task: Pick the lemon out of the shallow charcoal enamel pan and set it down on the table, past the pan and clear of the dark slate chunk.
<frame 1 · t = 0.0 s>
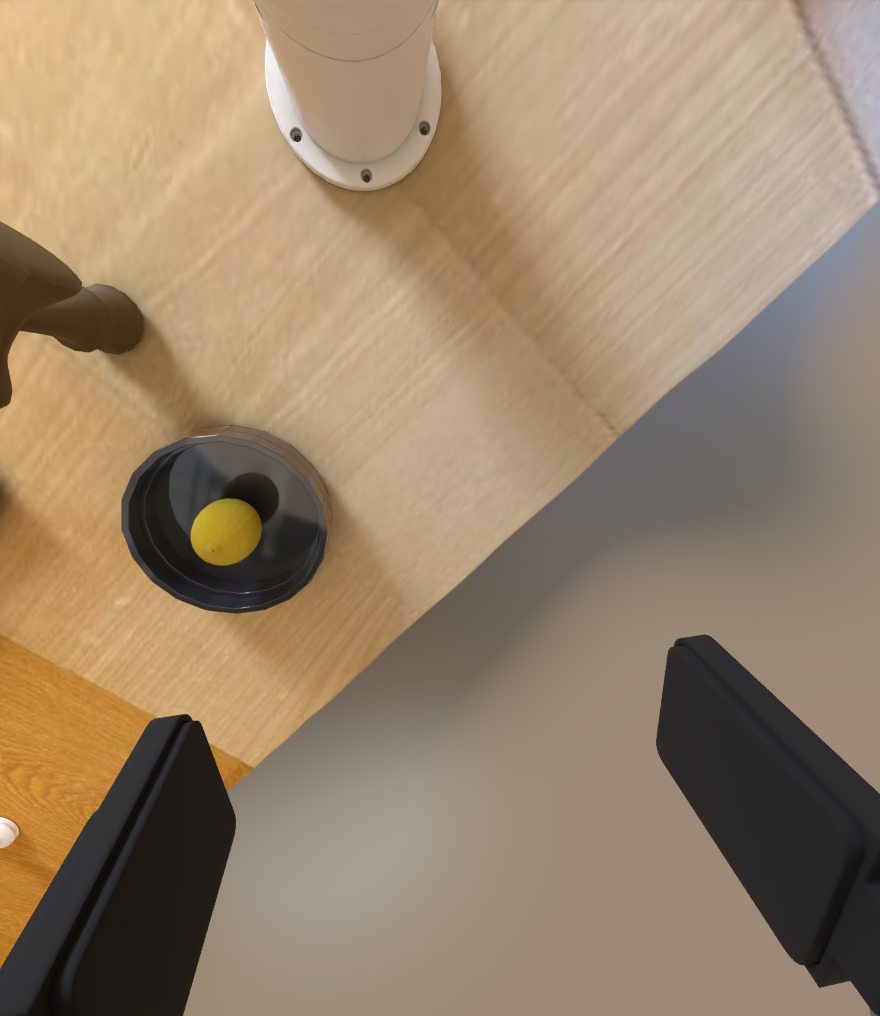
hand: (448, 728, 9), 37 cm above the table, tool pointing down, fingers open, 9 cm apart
pan: (241, 512, 45), on the table
kendama: (114, 320, 38), on the table
lemon: (241, 513, 45), resting on pan
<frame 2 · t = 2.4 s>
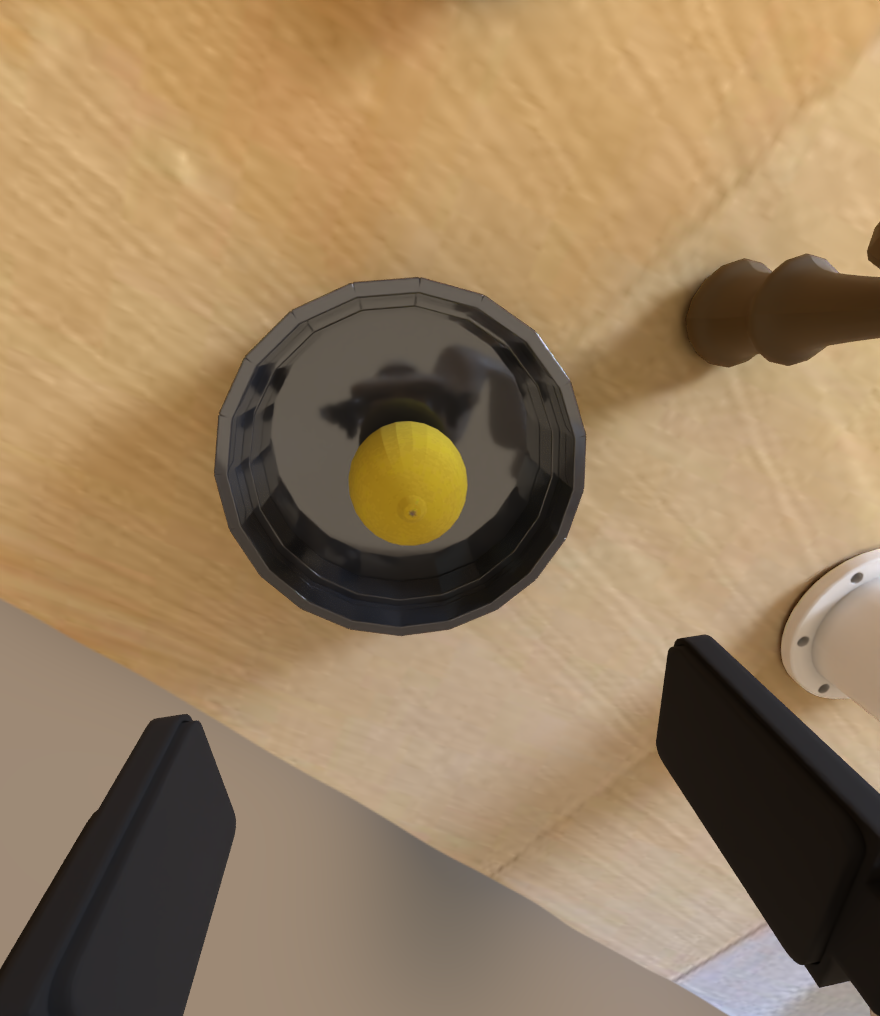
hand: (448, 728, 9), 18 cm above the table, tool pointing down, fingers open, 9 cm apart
pan: (405, 457, 26), on the table
kendama: (722, 315, 25), on the table
lemon: (405, 458, 25), resting on pan
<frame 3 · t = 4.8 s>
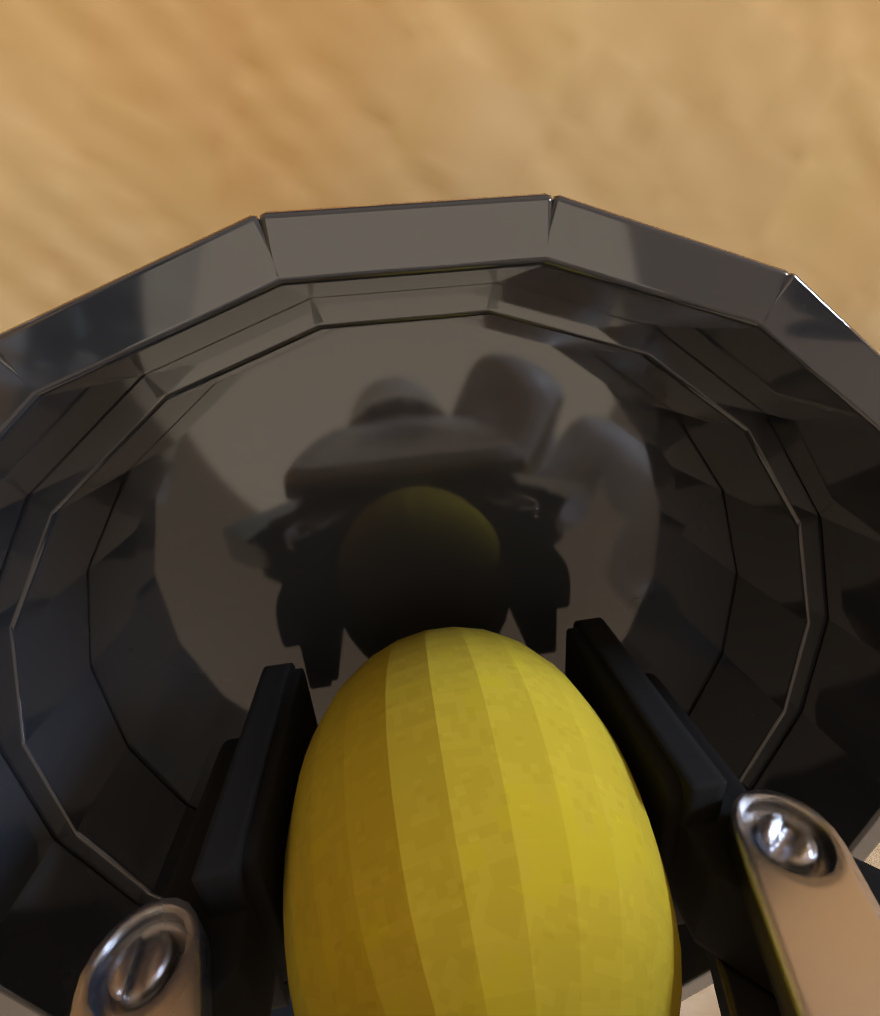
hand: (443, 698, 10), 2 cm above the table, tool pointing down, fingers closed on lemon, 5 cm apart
pan: (435, 647, 12), on the table
lemon: (436, 652, 11), resting on pan, touching gripper
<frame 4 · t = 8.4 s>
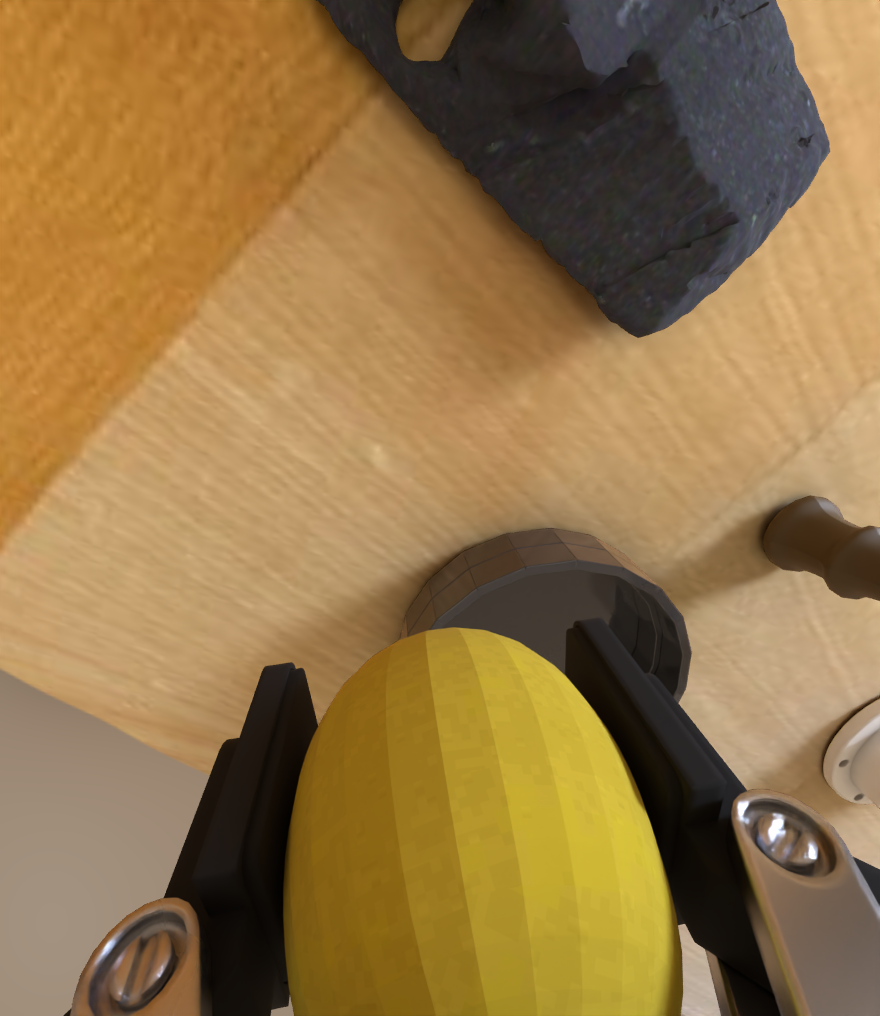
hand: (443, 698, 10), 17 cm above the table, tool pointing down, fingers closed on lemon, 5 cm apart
pan: (526, 643, 31), on the table
kendama: (790, 528, 30), on the table
dark slate chunk: (587, 70, 20), on the table
lemon: (436, 653, 11), point 15 cm above the table, touching gripper
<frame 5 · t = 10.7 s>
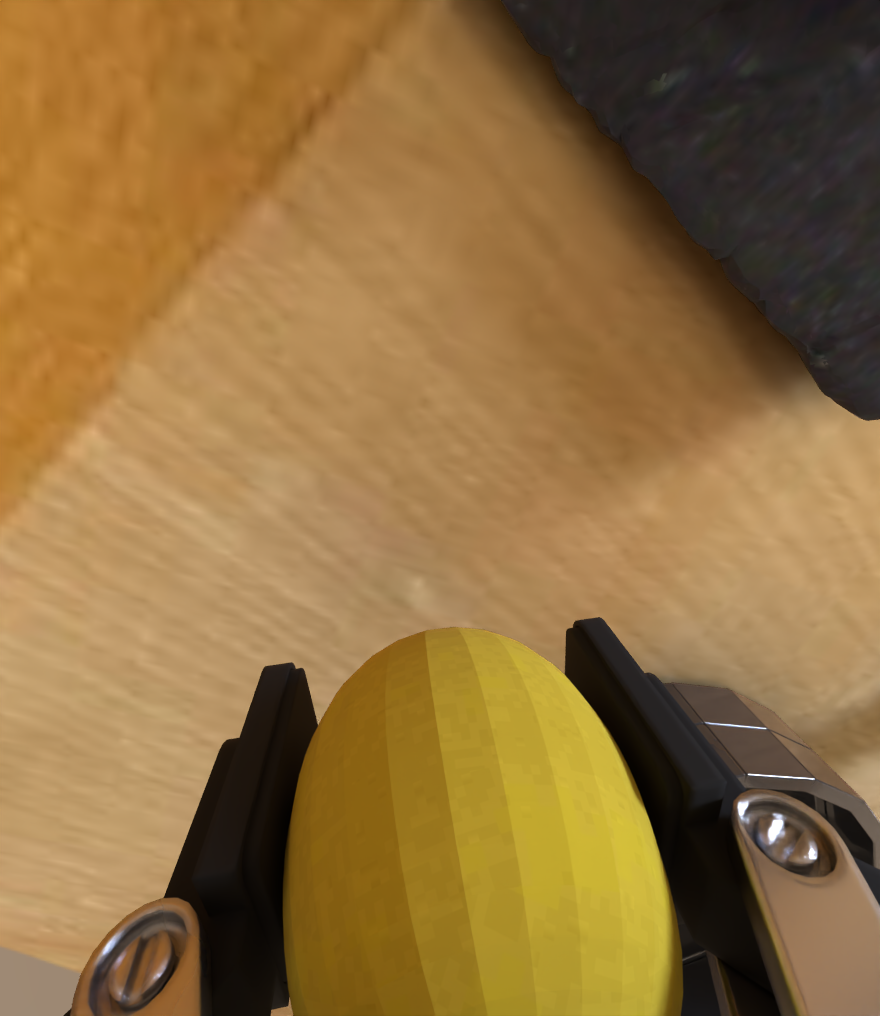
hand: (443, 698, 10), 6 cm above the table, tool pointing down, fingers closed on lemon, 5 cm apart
pan: (618, 821, 22), on the table
lemon: (436, 653, 11), point 4 cm above the table, touching gripper
when the fingers open (1 cm above the table, at t = 12.3 s): lemon stays where it is, on the table.
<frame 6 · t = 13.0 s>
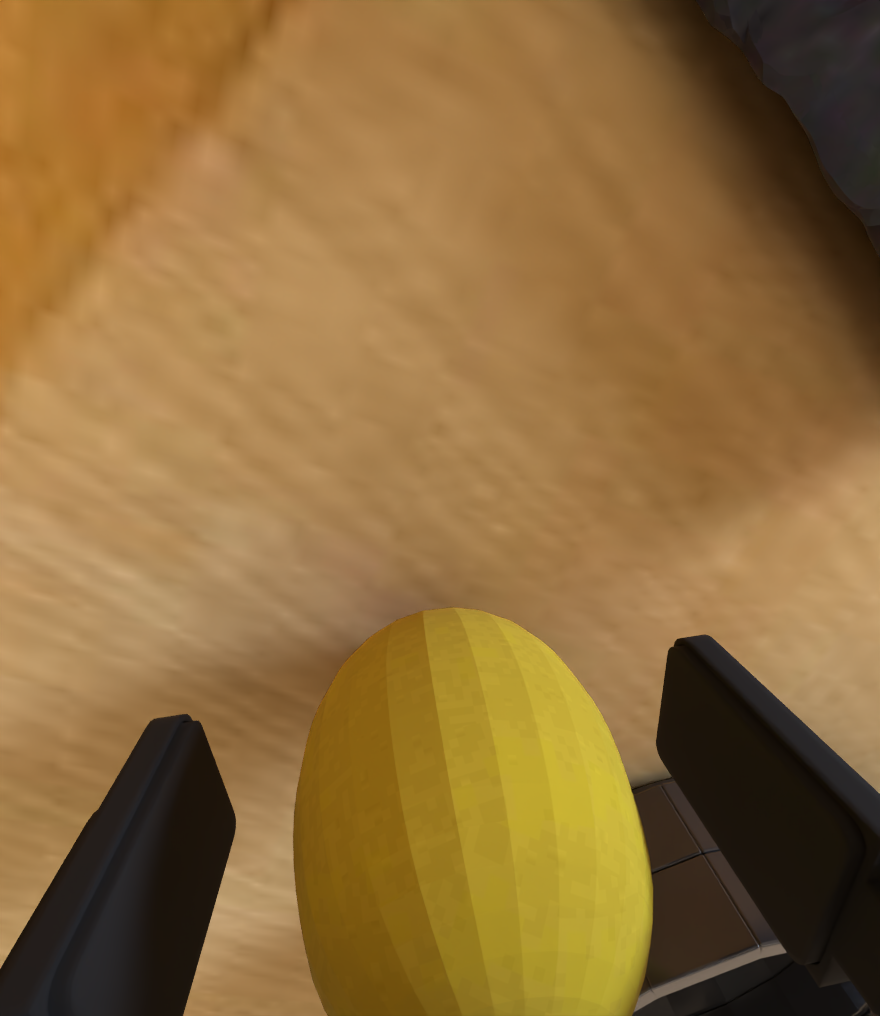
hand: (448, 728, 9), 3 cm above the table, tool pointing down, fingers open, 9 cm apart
pan: (664, 918, 18), on the table
lemon: (433, 636, 12), on the table
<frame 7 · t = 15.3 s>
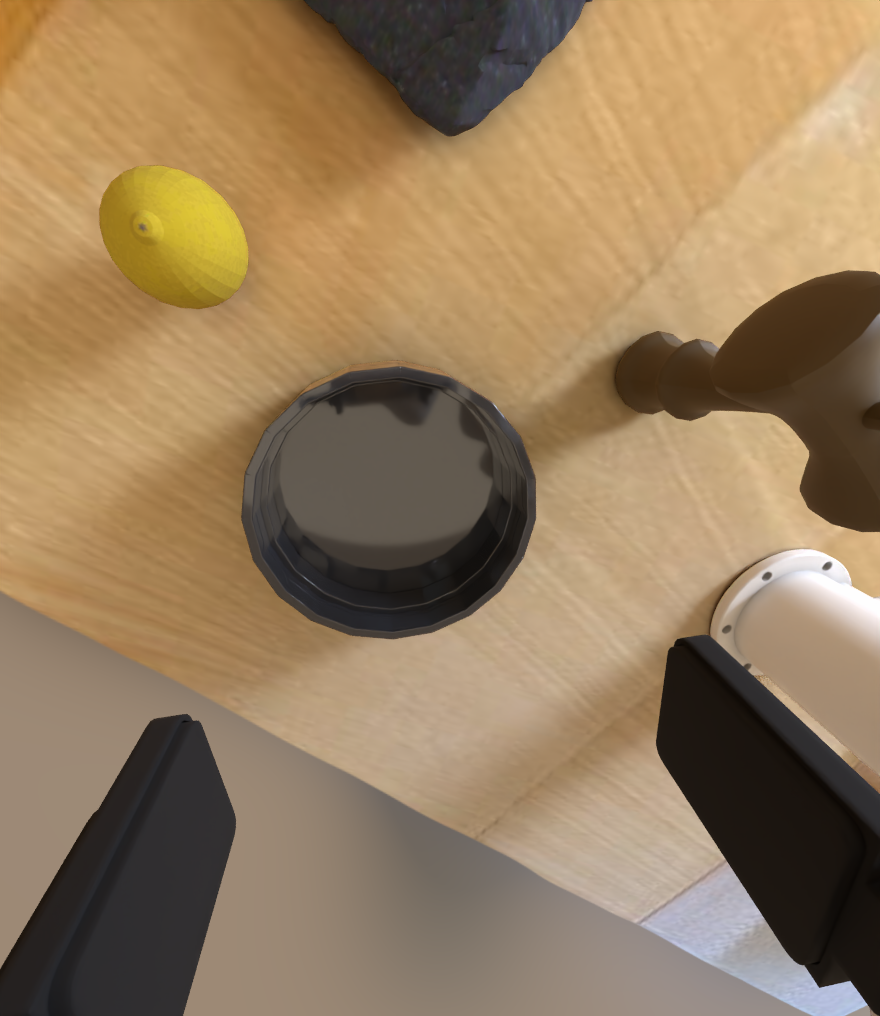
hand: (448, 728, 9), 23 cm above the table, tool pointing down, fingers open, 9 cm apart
pan: (392, 492, 31), on the table
kendama: (646, 372, 31), on the table
lemon: (210, 255, 25), on the table
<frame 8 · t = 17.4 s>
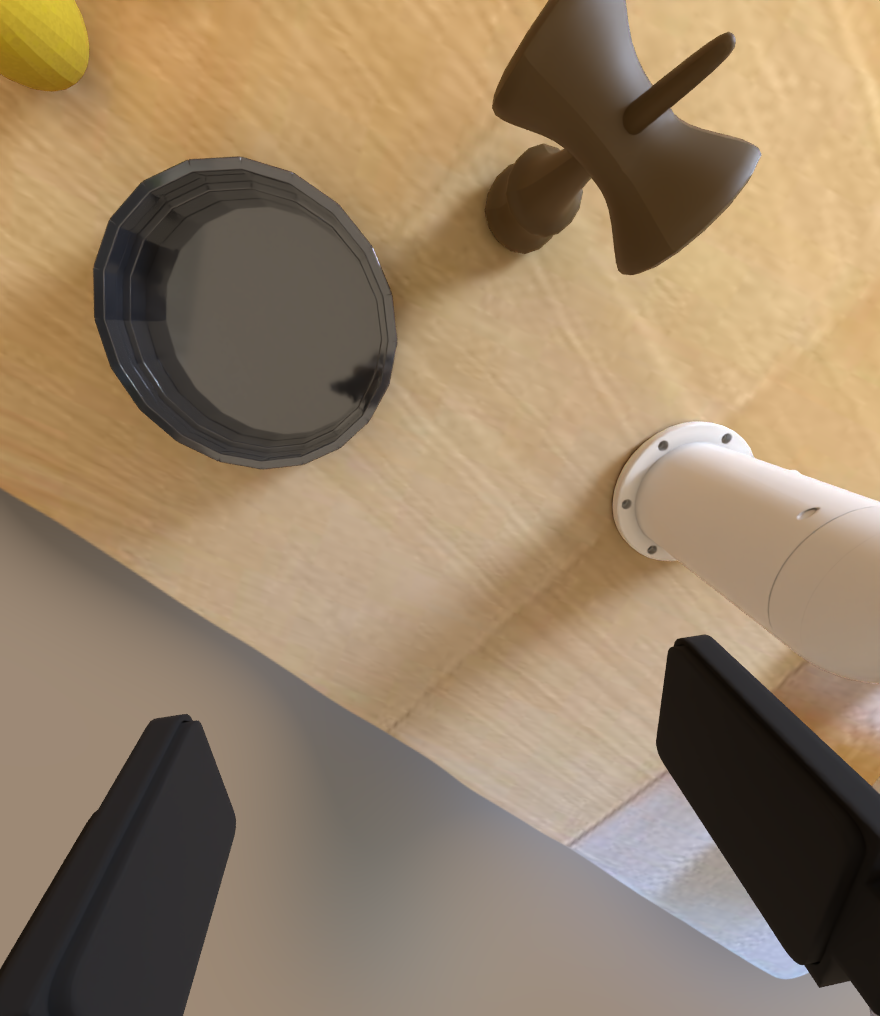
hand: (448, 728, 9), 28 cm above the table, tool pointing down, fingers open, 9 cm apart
pan: (269, 330, 32), on the table
kendama: (520, 212, 31), on the table
lemon: (66, 56, 26), on the table
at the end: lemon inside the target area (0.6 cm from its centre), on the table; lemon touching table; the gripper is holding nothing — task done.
